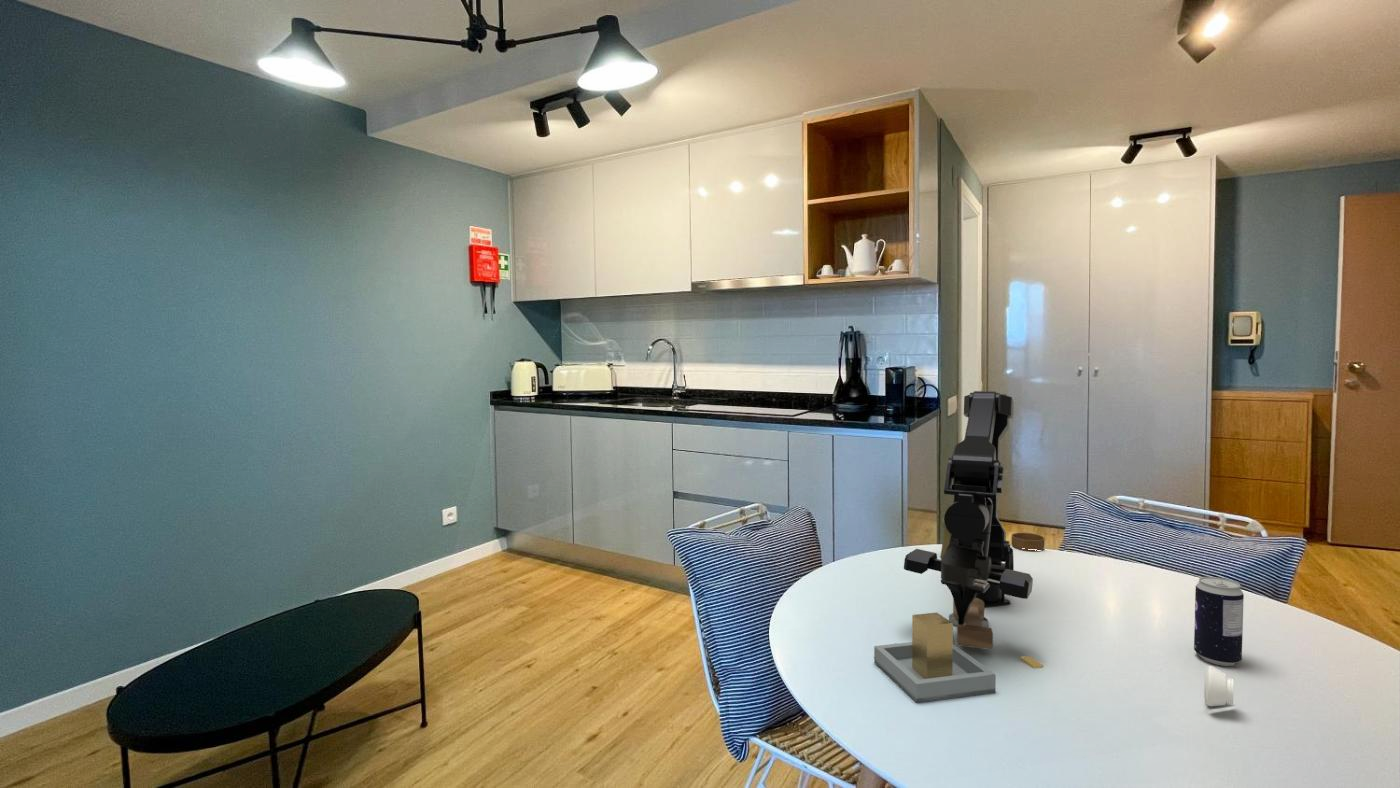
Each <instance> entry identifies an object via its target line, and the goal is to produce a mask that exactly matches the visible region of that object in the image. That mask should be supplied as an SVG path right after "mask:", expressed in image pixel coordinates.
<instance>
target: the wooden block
mask: <svg viewBox="0 0 1400 788" xmlns="http://www.w3.org/2000/svg"><path fill="white" fill-rule="evenodd" d="M911 620H912V627H911V628H912V629H911V630H912V631H911V632H912V635H911V638H912V639H911V640H912V641H911V642H912V668H913V669H914V670H915V671H916V672H917V673H918V674H919V675H921V676H922V677H923V678H924V679H929V678H937V677H946V676H952V667H953V644H954V643H953V641H954V640H953V637H954V634H953V633H954V632H953V631H954V630H953V629H954V626H953V623H952V622H951V621H949V618H948V619H947V618H946V617H945V616H943V615H942V614H940V613H939V612H929V613H928V612H927V613H919V614H912V618H911Z"/></svg>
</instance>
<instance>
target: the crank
mask: <svg viewBox="0 0 1400 788" xmlns="http://www.w3.org/2000/svg"><path fill="white" fill-rule="evenodd" d="M952 600H953V601H952V611H953V612H952V613H953V616H954V617H955V618H956V619H958V615H957V610H956V606H955V602H954V599H953V598H952ZM984 617H985V606H984V601H982V600H981V599H978V598H975V599H974V600H973V602H972V604H971V606H970V608H969V610H968V612H967V614H966V616H965V620H964V624H963V625H959V624H957V627H956V641H957V647H958V646H959V647H960V646H961V647H968V648H977V649H983V650H984V649H985V650H993V646H994V645H993V642H994V641H993V639H994V636H993V635H994V633H993V632H994V631H993V628H992V627H988V628H987V627H982V624H981V622H982V621H983V620H984Z"/></svg>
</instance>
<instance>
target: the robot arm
mask: <svg viewBox="0 0 1400 788" xmlns="http://www.w3.org/2000/svg"><path fill="white" fill-rule="evenodd" d="M1014 406H1015V405H1014V399H1013V397H1012V396H1009V395H1007V394H1003V393H1002V394H1001V393H1000V392H996V391H992V390H991V391H989V390H988V391H987V390H984V391H983V390H974V391H973V392H970V393H969V394H967V395H965V396H963V416H964V417H965V418H968V419H967V425H966V429H965V434H964V438H963V440H962V441H961V442H959V443H957V444H955V445H954V448H953V453H952V456H951V457H948V459H947V464H946V465H947V466H946V473H945V482H944V489H943V495H949V496H950V495H951V496H953V503H952V504H951V505H950V506H948V508H947V509H946V512H945V514H944V516H943V518H944V522H945V526H946V528H947V530H948V531H949V533H950V534H951V538H950V543H949V545H948V547H947V549H946V551H945V554H944V555H943V557H942V559H941V558H940V559H938V553H937V552H933V551H928V550H924V549H919V548H915V549H914V550H912V551H910V552H908V553H907V554H905V558H904V561H903V562H904V564H903V569H904V570H905V571H907V572H912V573H916V574H920V575H922V574H923V573H925V572H927V571H928V570H933V571H936V572H940V584H942V585H945V586H947V588H948V590H949V591H950V594H951V595H952V600H953V599H954V602H955V606H956V610H957V615H958V624H959V625H963V624H964V620H965V616H966V614H967V612H968V610H969V608H970V606H971V604H972V602H973V600H974V599H975V598H978V599H981V600H982V601H984V607H991V606H993V607H994V606H1003V605H1010V604H1011V600H1009V599H1007V598H1005V597H1006V596H1010V597H1014V598H1017V599H1022V600H1023V599H1024V600H1025V599H1026V600H1028V598H1029V596H1030V595H1031V593H1032V590H1033V585H1034V584H1033V582H1034V580H1033V579H1034V578H1033V577H1032V576H1031V574H1030V573H1027V572H1024V571H1023V572H1022V571H1017V570H1014V564H1015V563H1014V549H1013V547H1011V544H1010V541H1009V540H1007V532H1006V530H1005V528H1004V526H1003V525H1002V522H1001V521H1000V519H999V517H998V511H999V510H998V507H999V506H998V505H999V494H1002V493H1003V485H1004V484H1003V483H1004V482H1003V481H1004V472H1005V471H1004V470H1005V469H1004V467H1003V466H1002V462H1001V461H1000V449H1001V448H1000V447H1001V445H1000V444H1001V440H1002V438H1004V436H1005V435H1006V433H1007V432H1008V431H1009V429H1010V419H1014V412H1015V411H1014V410H1015V409H1014ZM952 483H953V484H952ZM1005 595H1006V596H1005Z"/></svg>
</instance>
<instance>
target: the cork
mask: <svg viewBox="0 0 1400 788" xmlns="http://www.w3.org/2000/svg"><path fill="white" fill-rule="evenodd" d="M941 526H942V529H943V537H942V544H941V552H940V560H941V559H942V557H943V555H944V554H945V551H946V549H947V547H948V545H949V543H950V538H951V534H950V533H949V531H948V530H947V528H946V526H945V522H944V517H943V518H942V519H941Z"/></svg>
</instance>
